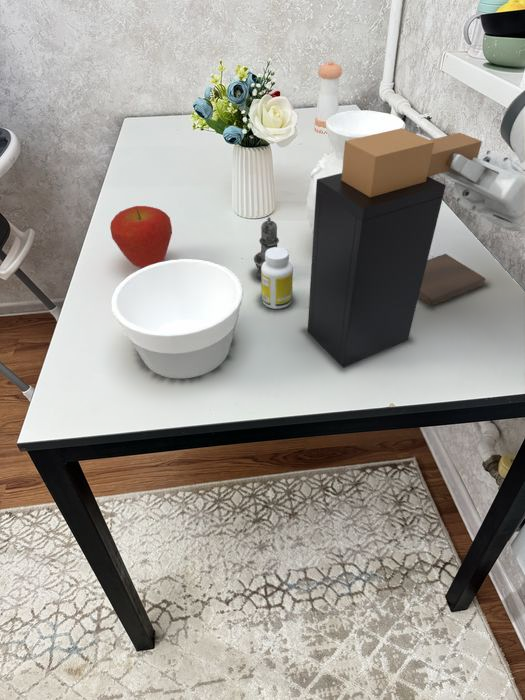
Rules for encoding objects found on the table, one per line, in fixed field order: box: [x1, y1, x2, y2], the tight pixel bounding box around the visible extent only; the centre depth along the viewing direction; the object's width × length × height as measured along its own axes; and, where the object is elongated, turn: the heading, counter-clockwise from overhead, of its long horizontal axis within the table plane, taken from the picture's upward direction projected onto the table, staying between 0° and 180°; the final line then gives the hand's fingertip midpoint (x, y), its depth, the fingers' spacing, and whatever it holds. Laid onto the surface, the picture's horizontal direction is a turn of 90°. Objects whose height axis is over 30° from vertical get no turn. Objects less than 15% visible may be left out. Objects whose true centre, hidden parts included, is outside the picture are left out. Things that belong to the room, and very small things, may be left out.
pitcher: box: [306, 109, 406, 234], centre depth 92 cm, size 19×18×25 cm
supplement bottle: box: [261, 246, 294, 310], centre depth 85 cm, size 5×5×10 cm
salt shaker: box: [314, 60, 343, 135], centre depth 148 cm, size 7×7×19 cm
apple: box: [109, 205, 173, 269], centre depth 93 cm, size 11×11×12 cm
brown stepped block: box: [341, 128, 483, 197], centre depth 63 cm, size 6×19×5 cm, turn 119°
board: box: [418, 253, 486, 307], centre depth 91 cm, size 10×13×2 cm
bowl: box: [110, 258, 244, 380], centre depth 75 cm, size 19×19×11 cm
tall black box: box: [307, 173, 447, 368], centre depth 72 cm, size 10×13×26 cm
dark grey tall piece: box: [253, 216, 280, 282], centre depth 90 cm, size 6×6×12 cm
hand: (437, 152), depth 65 cm, fingers closed on brown stepped block, 4 cm apart
